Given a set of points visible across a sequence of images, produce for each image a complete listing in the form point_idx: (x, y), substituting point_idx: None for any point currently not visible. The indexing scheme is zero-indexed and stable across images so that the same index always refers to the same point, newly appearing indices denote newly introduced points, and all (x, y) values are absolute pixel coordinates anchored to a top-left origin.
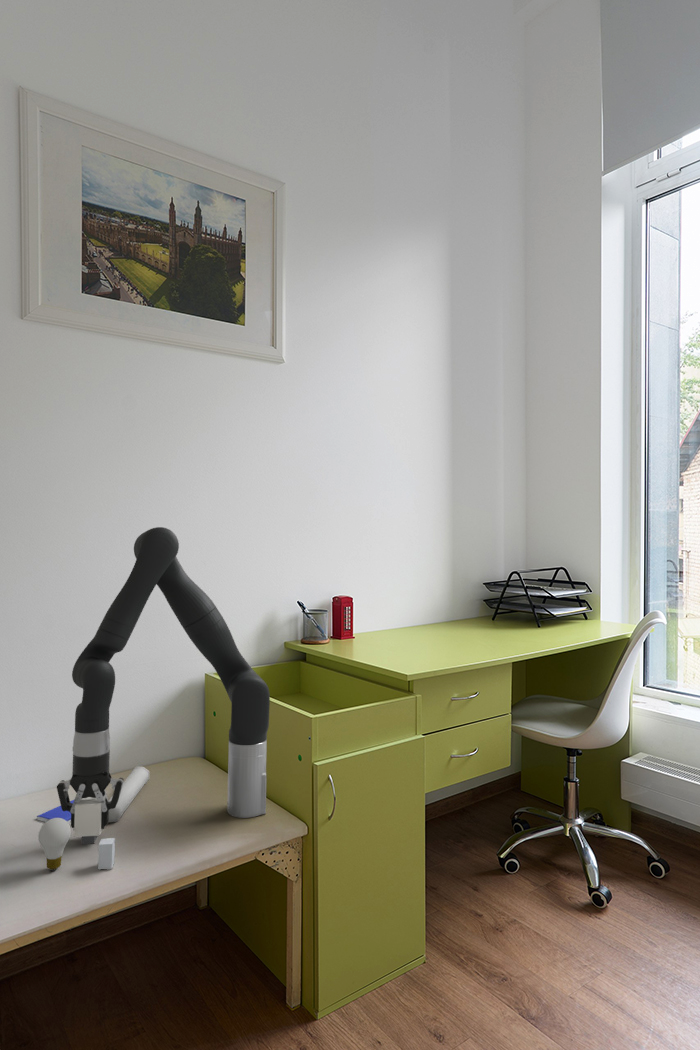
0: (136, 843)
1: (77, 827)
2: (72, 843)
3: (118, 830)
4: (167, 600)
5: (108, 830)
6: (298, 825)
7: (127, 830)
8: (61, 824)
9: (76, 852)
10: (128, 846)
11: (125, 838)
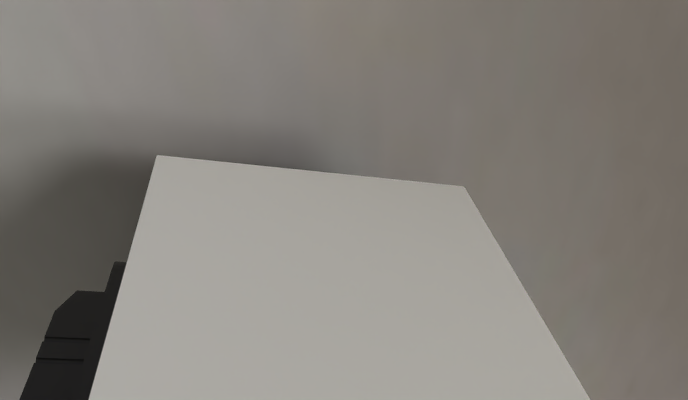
0: (656, 331)
1: None
2: (127, 238)
3: (583, 50)
4: None
5: (482, 19)
6: None
7: (666, 75)
8: None
9: None
10: (590, 362)
11: (603, 239)
